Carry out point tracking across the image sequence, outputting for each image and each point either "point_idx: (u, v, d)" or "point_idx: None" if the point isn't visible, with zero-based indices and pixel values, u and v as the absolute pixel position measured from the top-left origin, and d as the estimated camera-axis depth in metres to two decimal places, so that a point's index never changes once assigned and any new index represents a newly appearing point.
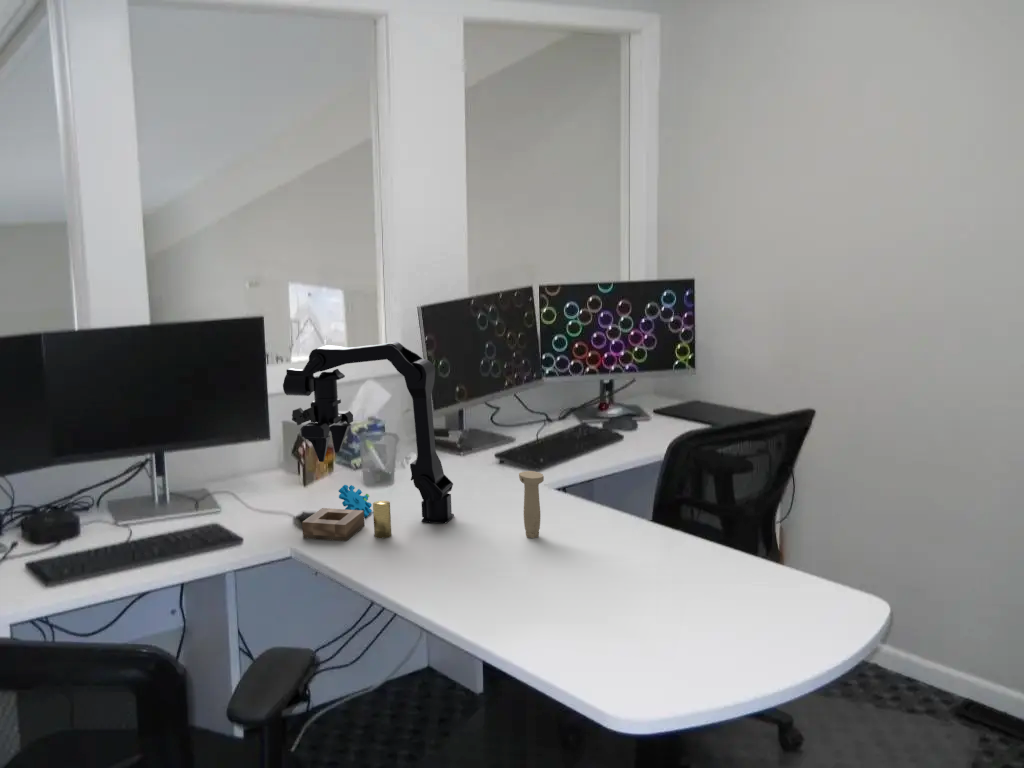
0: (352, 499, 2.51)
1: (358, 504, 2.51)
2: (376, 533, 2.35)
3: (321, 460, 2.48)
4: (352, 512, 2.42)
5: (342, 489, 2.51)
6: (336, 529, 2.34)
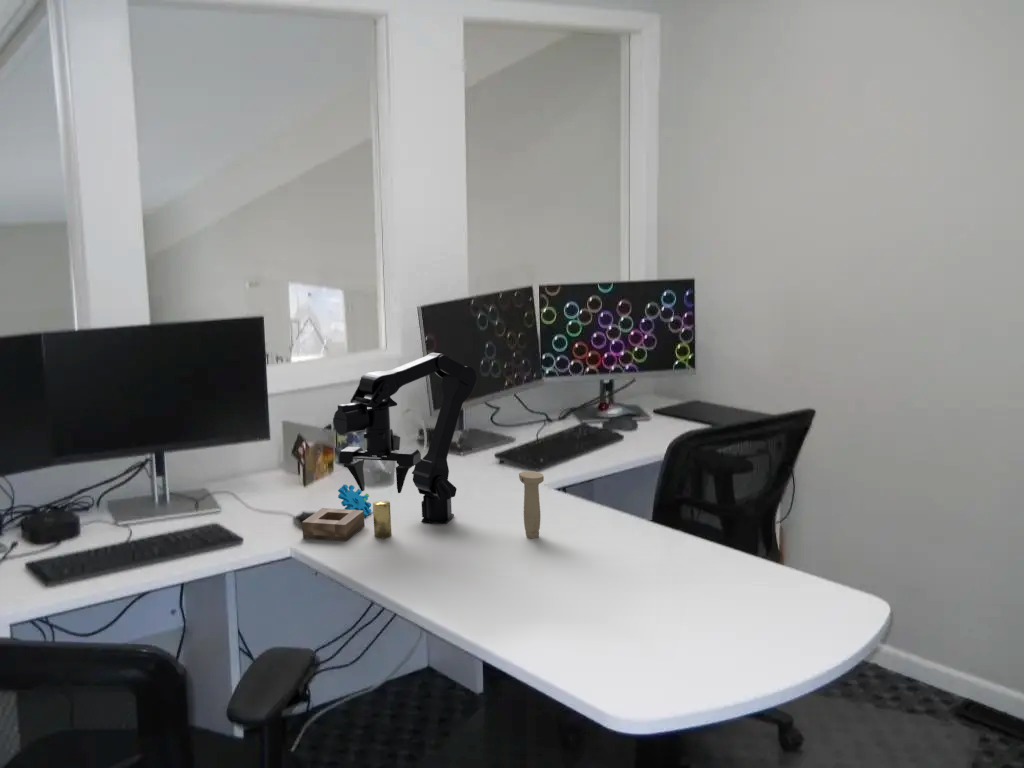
0: (351, 499, 2.51)
1: (357, 504, 2.51)
2: (376, 533, 2.35)
3: None
4: (352, 512, 2.42)
5: (341, 489, 2.51)
6: (336, 529, 2.34)
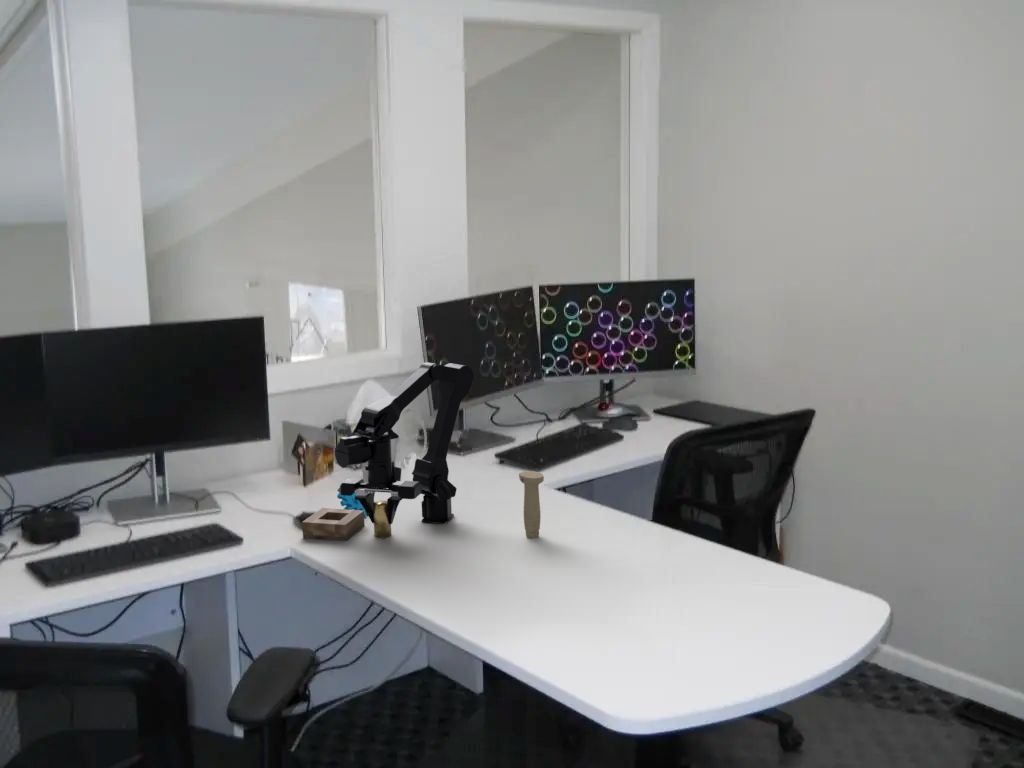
0: (351, 499, 2.51)
1: (356, 504, 2.51)
2: (376, 533, 2.35)
3: None
4: (352, 512, 2.42)
5: None
6: (336, 529, 2.34)
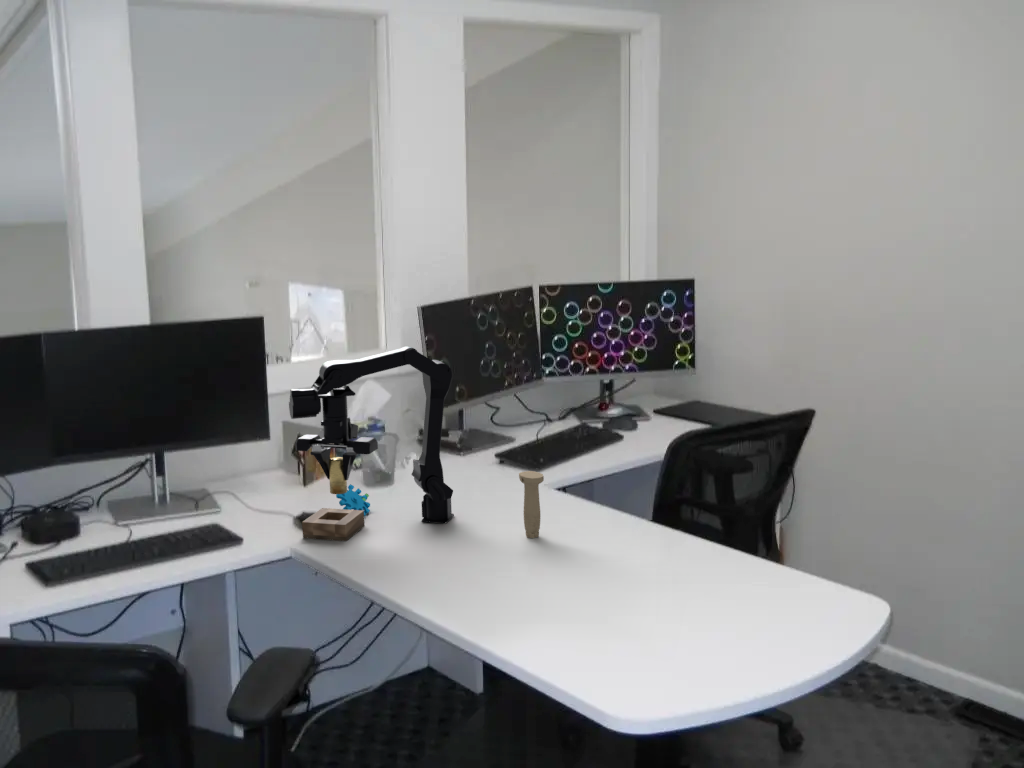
0: (350, 498, 2.52)
1: (355, 504, 2.52)
2: (331, 489, 2.36)
3: None
4: (352, 512, 2.42)
5: None
6: (336, 529, 2.34)
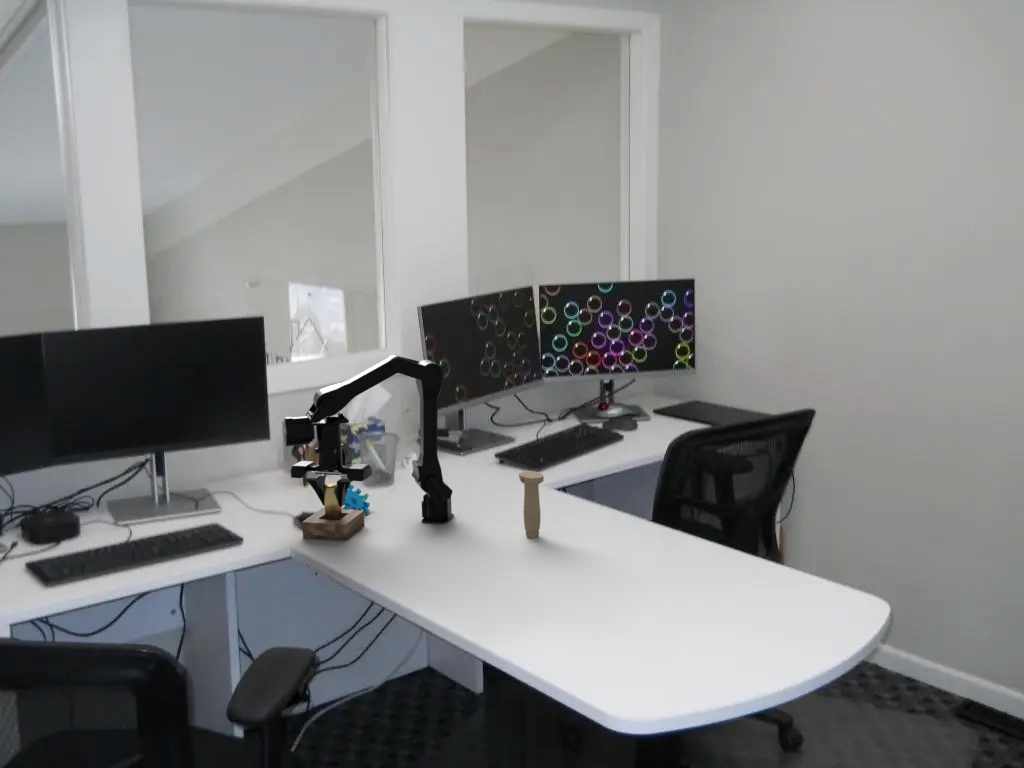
0: (349, 498, 2.52)
1: (354, 504, 2.52)
2: (326, 515, 2.38)
3: None
4: (352, 512, 2.42)
5: None
6: (336, 529, 2.34)
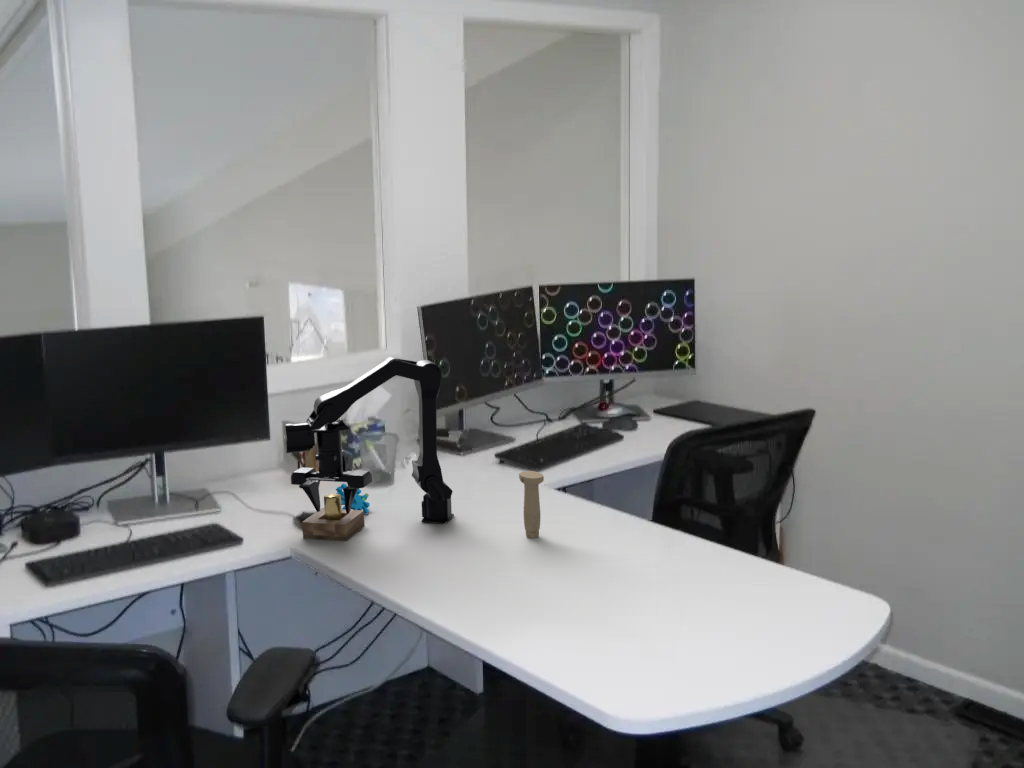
0: None
1: (354, 504, 2.52)
2: None
3: None
4: (352, 512, 2.42)
5: (339, 488, 2.52)
6: (336, 529, 2.34)
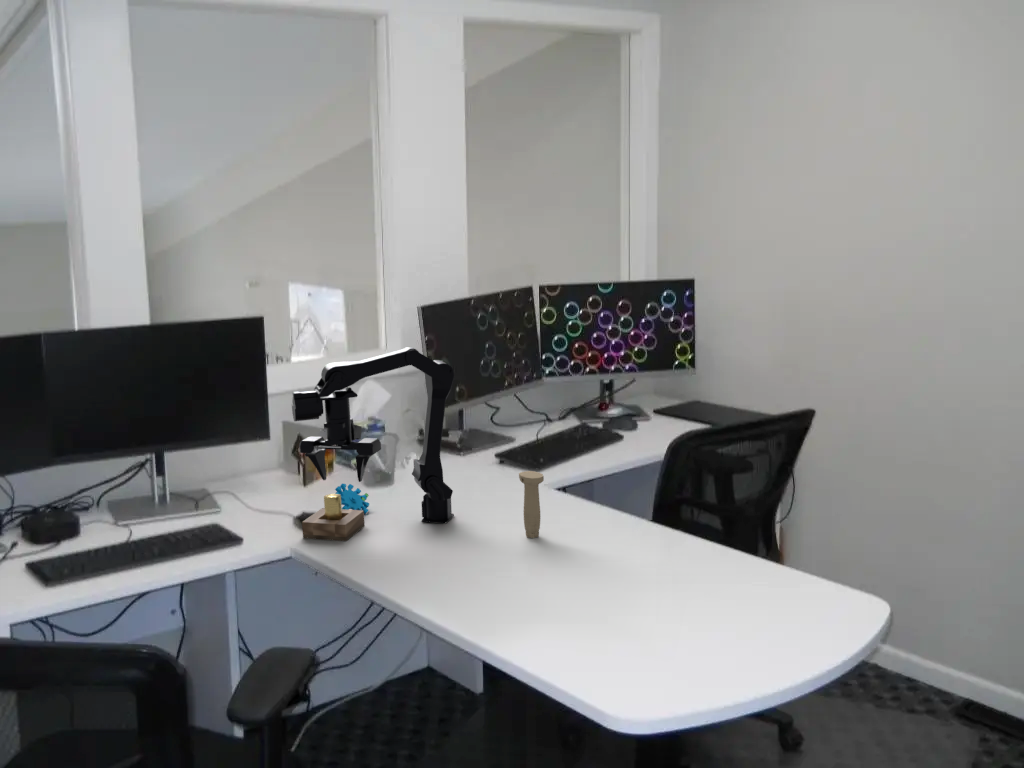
0: (348, 498, 2.52)
1: (353, 504, 2.52)
2: None
3: None
4: (352, 512, 2.42)
5: (339, 488, 2.52)
6: (336, 529, 2.34)
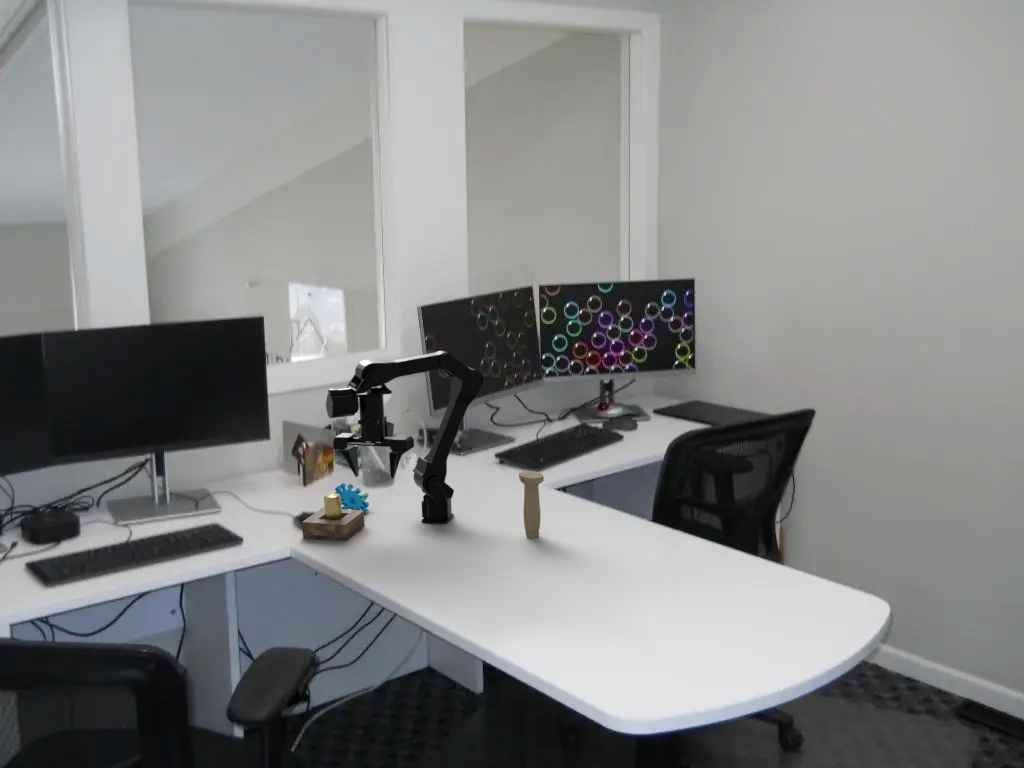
0: (347, 498, 2.52)
1: (353, 503, 2.52)
2: None
3: None
4: (352, 512, 2.42)
5: (338, 487, 2.53)
6: (336, 529, 2.34)
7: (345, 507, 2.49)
